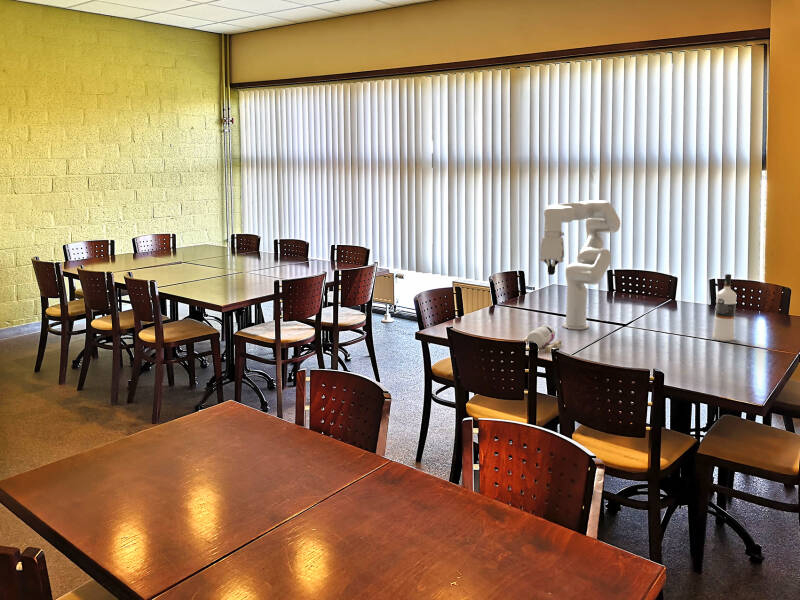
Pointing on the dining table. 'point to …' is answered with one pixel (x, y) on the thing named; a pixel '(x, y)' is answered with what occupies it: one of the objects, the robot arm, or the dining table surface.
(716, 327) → the vodka
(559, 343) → the rail cradle
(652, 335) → the dining table surface
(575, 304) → the robot arm
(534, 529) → the dining table surface
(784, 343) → the dining table surface
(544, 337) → the supplement can
